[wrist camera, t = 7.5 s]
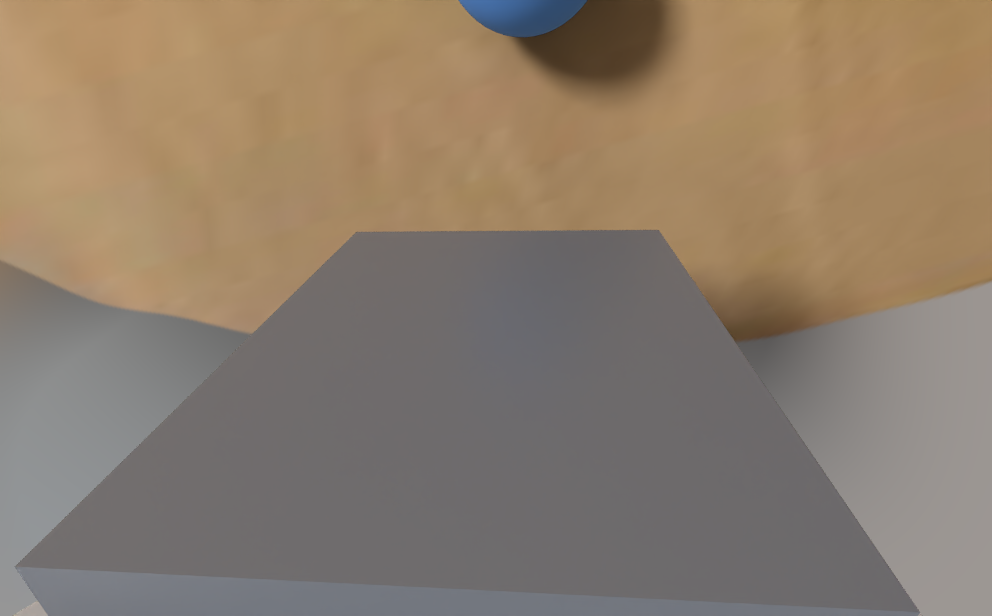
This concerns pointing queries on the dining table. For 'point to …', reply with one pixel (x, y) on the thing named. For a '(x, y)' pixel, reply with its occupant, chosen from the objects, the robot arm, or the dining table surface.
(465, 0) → the ball
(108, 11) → the dining table surface
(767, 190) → the dining table surface
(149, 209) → the dining table surface
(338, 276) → the balanced grey cube
